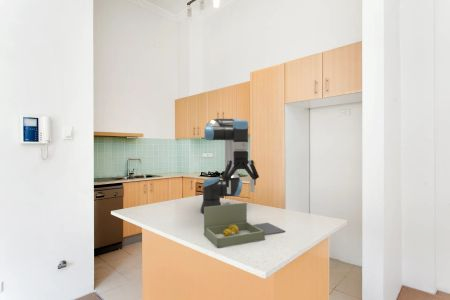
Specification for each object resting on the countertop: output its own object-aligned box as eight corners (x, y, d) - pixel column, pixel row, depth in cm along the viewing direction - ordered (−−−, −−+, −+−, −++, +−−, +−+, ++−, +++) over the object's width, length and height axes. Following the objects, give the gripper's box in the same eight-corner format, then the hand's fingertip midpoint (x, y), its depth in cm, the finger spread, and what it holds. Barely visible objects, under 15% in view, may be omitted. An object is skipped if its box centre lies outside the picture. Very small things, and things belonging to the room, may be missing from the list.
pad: (249, 226, 137) (249, 225, 137) (267, 223, 142) (267, 222, 142) (265, 235, 122) (265, 234, 122) (285, 232, 127) (285, 230, 127)
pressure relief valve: (219, 237, 118) (232, 232, 126) (239, 247, 111) (251, 241, 118) (221, 226, 118) (234, 221, 125) (240, 236, 110) (253, 230, 118)
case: (204, 234, 123) (204, 204, 123) (245, 228, 133) (245, 200, 133) (218, 248, 106) (218, 213, 106) (264, 239, 116) (264, 208, 116)
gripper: (221, 150, 115) (221, 195, 115) (265, 150, 126) (265, 192, 125) (215, 150, 122) (215, 193, 121) (257, 151, 133) (257, 190, 132)
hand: (240, 192), depth 123 cm, fingers open, 13 cm apart
